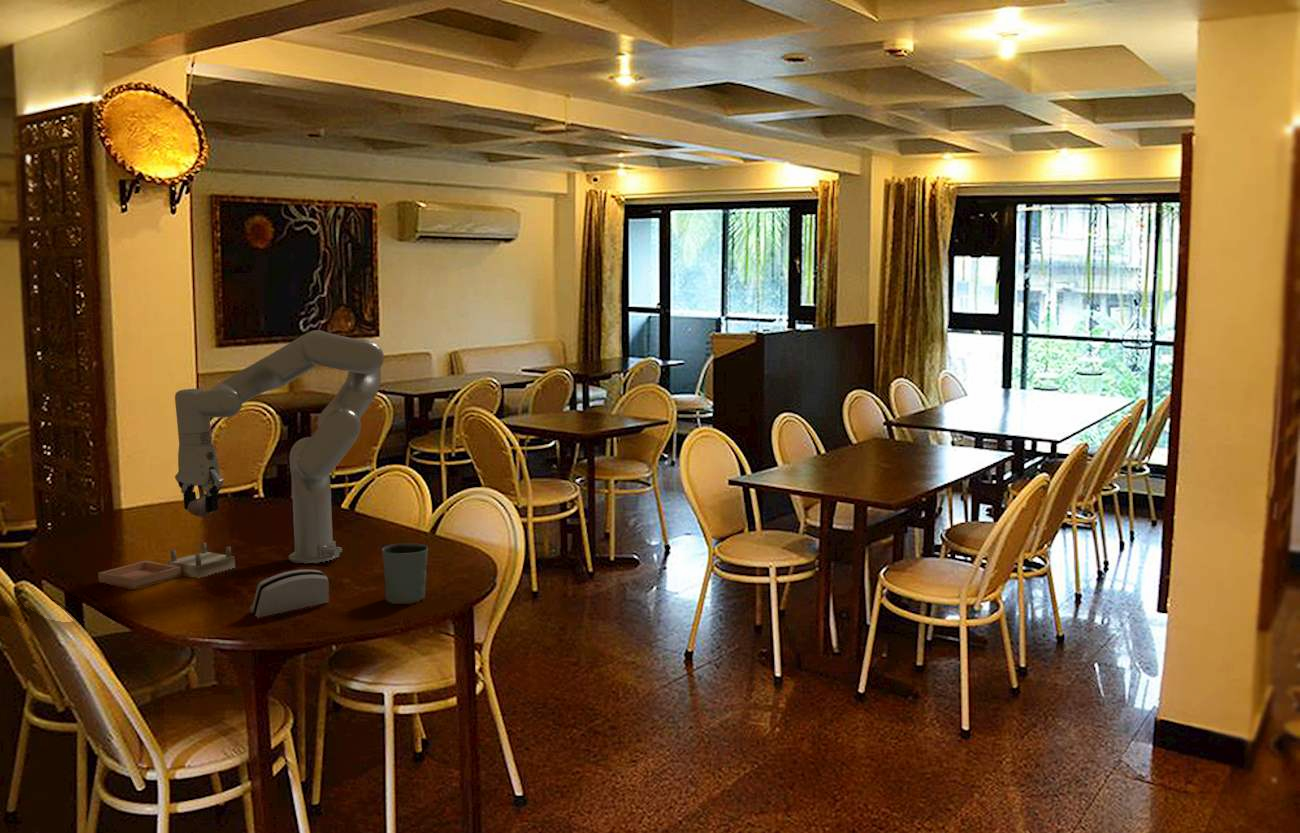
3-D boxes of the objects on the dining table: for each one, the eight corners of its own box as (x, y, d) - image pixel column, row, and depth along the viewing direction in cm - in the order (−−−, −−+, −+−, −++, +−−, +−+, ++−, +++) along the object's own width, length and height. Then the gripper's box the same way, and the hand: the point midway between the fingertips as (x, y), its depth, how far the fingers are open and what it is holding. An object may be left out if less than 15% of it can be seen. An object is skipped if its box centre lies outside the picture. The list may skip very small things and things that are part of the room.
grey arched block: (320, 598, 254) (325, 560, 250) (329, 609, 251) (334, 571, 247) (247, 613, 243) (251, 574, 239) (256, 625, 240) (260, 585, 236)
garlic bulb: (207, 519, 272) (204, 487, 271) (180, 519, 274) (177, 487, 273) (224, 512, 280) (221, 481, 279) (198, 512, 281) (195, 481, 280)
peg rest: (235, 568, 280) (234, 546, 280) (198, 578, 271) (197, 556, 270) (205, 562, 286) (204, 541, 285) (168, 572, 276) (167, 551, 275)
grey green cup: (375, 599, 253) (373, 547, 251) (413, 590, 260) (411, 540, 258) (399, 608, 246) (397, 555, 244) (438, 599, 253) (436, 547, 251)
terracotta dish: (181, 577, 272) (180, 567, 272) (134, 590, 261) (133, 579, 261) (146, 570, 278) (145, 560, 278) (98, 583, 267) (98, 572, 267)
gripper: (232, 438, 273) (238, 509, 275) (184, 435, 281) (190, 503, 284) (206, 443, 267) (213, 516, 269) (158, 439, 275) (165, 510, 277)
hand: (201, 509), depth 276 cm, fingers closed on garlic bulb, 7 cm apart
